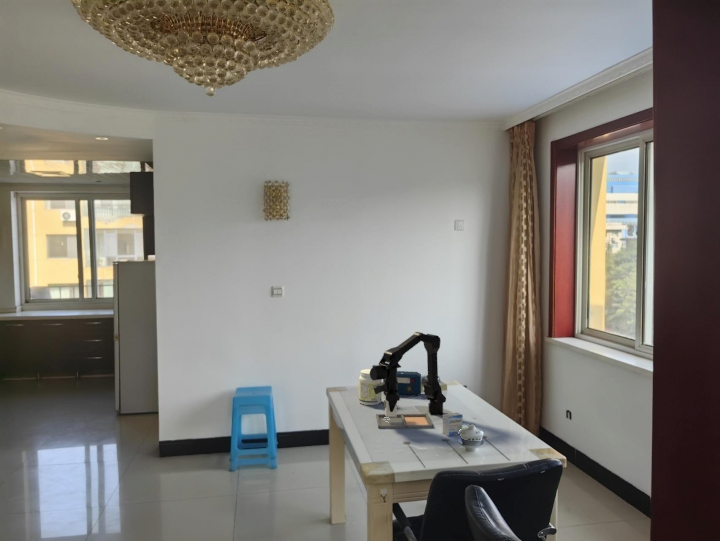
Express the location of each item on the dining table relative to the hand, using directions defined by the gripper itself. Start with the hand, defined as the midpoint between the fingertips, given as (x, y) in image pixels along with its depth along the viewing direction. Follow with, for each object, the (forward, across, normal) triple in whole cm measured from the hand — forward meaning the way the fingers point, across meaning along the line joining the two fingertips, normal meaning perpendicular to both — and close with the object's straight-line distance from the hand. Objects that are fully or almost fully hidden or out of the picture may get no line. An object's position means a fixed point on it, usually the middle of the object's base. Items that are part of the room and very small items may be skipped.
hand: (390, 410), depth 248 cm
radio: (+6, -49, +11) cm, 51 cm away
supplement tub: (+6, -33, -8) cm, 34 cm away
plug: (+2, 0, 0) cm, 2 cm away
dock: (+6, 0, +6) cm, 8 cm away
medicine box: (+6, +15, +26) cm, 31 cm away
